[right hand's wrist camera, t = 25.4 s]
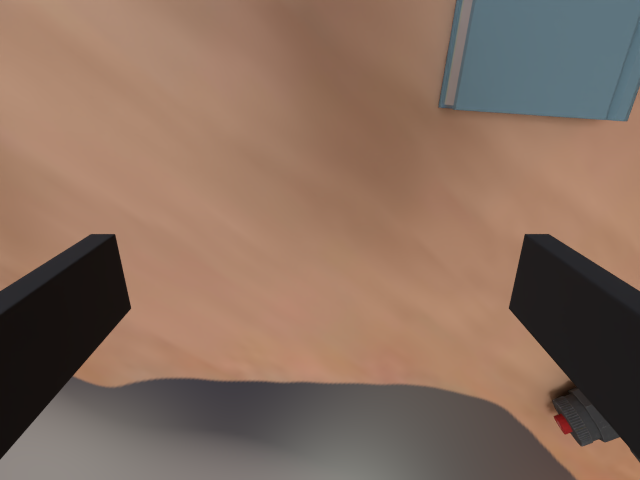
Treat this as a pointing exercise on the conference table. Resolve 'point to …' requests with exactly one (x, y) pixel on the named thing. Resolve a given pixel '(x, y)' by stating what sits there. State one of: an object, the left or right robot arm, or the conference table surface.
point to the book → (544, 58)
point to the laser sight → (582, 419)
